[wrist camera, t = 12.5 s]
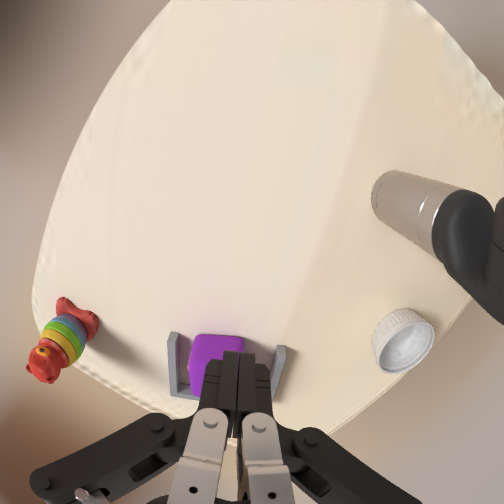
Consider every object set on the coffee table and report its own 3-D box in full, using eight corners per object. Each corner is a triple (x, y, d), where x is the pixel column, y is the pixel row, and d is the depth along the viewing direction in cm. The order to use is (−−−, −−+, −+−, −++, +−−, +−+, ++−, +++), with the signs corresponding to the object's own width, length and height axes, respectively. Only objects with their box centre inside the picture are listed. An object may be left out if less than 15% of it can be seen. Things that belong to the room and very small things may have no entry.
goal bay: (284, 345, 52) (286, 355, 49) (269, 397, 58) (270, 407, 55) (170, 331, 50) (167, 341, 47) (173, 386, 56) (170, 395, 53)
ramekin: (409, 291, 48) (426, 309, 42) (426, 328, 52) (440, 347, 45) (356, 330, 51) (367, 352, 44) (379, 362, 55) (389, 383, 48)
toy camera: (202, 380, 55) (196, 415, 46) (185, 331, 50) (174, 368, 41) (251, 377, 55) (252, 413, 46) (242, 327, 50) (241, 365, 41)
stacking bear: (100, 315, 49) (59, 374, 33) (95, 347, 53) (62, 404, 36) (58, 293, 48) (11, 342, 31) (57, 326, 51) (19, 375, 34)
